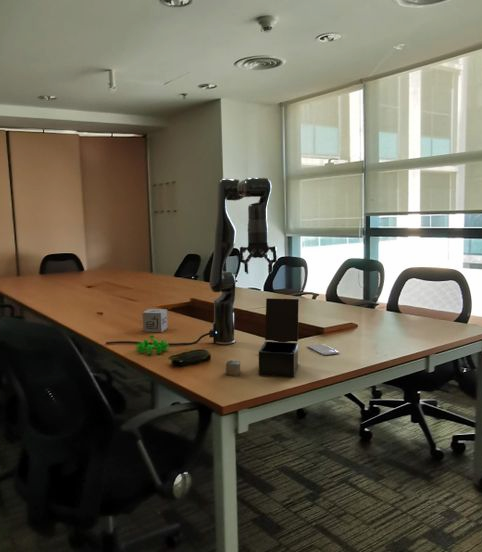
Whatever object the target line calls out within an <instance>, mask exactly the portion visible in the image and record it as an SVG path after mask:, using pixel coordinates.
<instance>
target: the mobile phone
mask: <svg viewBox="0 0 482 552" xmlns="http://www.w3.org/2000/svg"><path fill="white" fill-rule="evenodd" d="M307 347H308V348H310V349H311V350H313V351H315V352H317V353H319V354H321V355H322V356H328V355H337V354H339V351H338V350H336V349H334V348H332V347H330V346H328V345H326V344H324V343H313V344H308V345H307Z"/></svg>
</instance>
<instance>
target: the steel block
mask: <svg viewBox="0 0 482 552" xmlns="http://www.w3.org/2000/svg"><path fill="white" fill-rule="evenodd" d="M225 368H226V369H225V374H226V376H233V377H238V376H239V375H240V374H241V361H240V360H227V362H226V364H225Z"/></svg>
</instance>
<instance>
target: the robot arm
mask: <svg viewBox="0 0 482 552" xmlns="http://www.w3.org/2000/svg"><path fill="white" fill-rule="evenodd" d="M216 191H217V193H216V195H217V196H216V197H217V199H216V200H217V201H216V222H215V231H214V245H213V256H212V263H211V269H210V275H209V287H210V290H211V292H213V293H221V295H219V297H217V298H216V299H214V300H213V323H212V328H211V329H209V330H208V331H209V332H207V333H204V334H202V335H201V336H199V337H198V338H197V340H195V341H192V342H176V343H175V342H173V343H172V342H171V343H170V342H167V343H168V345H169V346H190V345H196V344H197V343H199V342H200V341H201V340H202V338H204V337H206V336H207V337H208V336H209V338H212V339H213V344H216V345H220V346H221V345H222V346H224V345H227V346H228V345H232V344H234V343H235V301H236V276H235V274H234V273H233V272H232V271H229V270H227V271H224V267H225V263H226V261H227V259H228V258H229V256H230V255H231V254H232V251H233V249H234V247H235V245H236V236H237V229H236V226H235V225H234V222H233V220H232V219H231V217H230V215H229V212H228V210H227V201H233V202H234V201H241V200H242V199H244V198H259V200H258V201H257V202H253V203H250V204H249V205H248V208H247V212H248V215H247V216H248V220H247V246H240V247H239V257H238V258H239V263H242V264H243V265H244V273H245V274H246V275H248V274H249V273H250V264H249V262H250V261H251V259H252V258H254V259H257V258H259V259H262V258H264V260H266V261H267V263H268V264H267V265H268V267H267V271H268V273H267V274H268V275H270V274H272V272H273V269H274V268H273V267H274V266H273V264H274V263H277V262H278V251H277V246H276V245H273V246H270V245H269V224H268V204H269V199H270V196H271V192H272V182H271V180H270V179H269V178H267V177H247V178H245V179H242V180H241V179H237V178H220V179H219V181H218V184H217V190H216ZM246 251H247V252H248V253H249V254H248V256H247V257H246V259H244V258H245V253H246ZM269 251H270V252H271V253H272V259H271V257H270V256H269V254H268V253H269ZM138 342H139V341H135V340H134V341H133V340H132V341H131V340H119V341H118V340H117V341H115V340H114V341H105V345H114V344H135V345H136V344H137V345H138V344H139V343H138ZM142 342H143V343H144V341H142ZM148 342H149V345H152V341H151V342H150V341H148ZM158 344H159V342H158ZM165 344H166V343H165ZM159 345H160V344H159ZM168 345H167V346H168Z"/></svg>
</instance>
